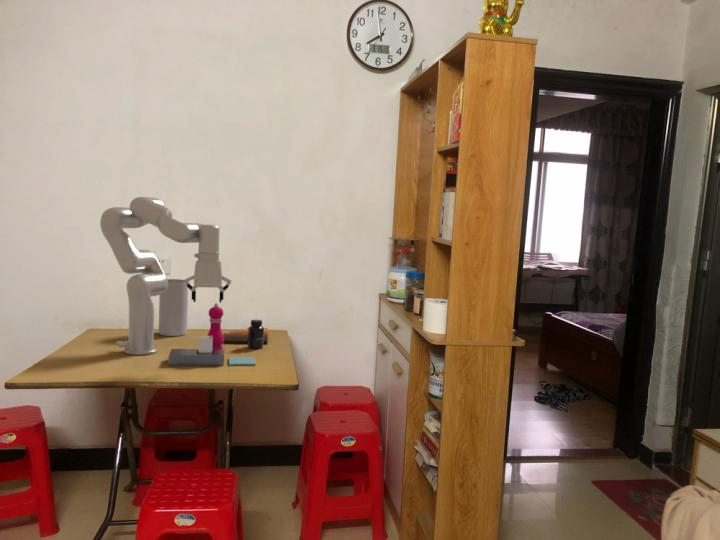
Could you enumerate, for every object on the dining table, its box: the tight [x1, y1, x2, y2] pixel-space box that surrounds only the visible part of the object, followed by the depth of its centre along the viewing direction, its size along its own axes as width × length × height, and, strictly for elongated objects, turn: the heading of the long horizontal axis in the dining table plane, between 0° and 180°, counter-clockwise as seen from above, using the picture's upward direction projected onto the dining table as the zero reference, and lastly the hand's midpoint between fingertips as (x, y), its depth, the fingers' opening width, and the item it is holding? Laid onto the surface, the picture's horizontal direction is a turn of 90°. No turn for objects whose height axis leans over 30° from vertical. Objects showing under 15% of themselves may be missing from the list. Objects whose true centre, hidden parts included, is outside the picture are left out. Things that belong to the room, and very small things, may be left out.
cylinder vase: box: [158, 278, 189, 337], centre depth 269 cm, size 12×12×25 cm
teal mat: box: [228, 356, 257, 367], centre depth 227 cm, size 10×10×1 cm
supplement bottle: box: [246, 319, 265, 350], centre depth 252 cm, size 7×7×12 cm
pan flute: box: [222, 327, 269, 345], centre depth 269 cm, size 25×3×25 cm
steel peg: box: [198, 335, 213, 354], centre depth 223 cm, size 5×5×10 cm
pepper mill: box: [206, 303, 224, 349], centre depth 243 cm, size 7×7×20 cm
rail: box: [168, 348, 225, 367], centre depth 223 cm, size 20×10×4 cm, turn 102°
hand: (207, 301), depth 221 cm, fingers open, 9 cm apart
